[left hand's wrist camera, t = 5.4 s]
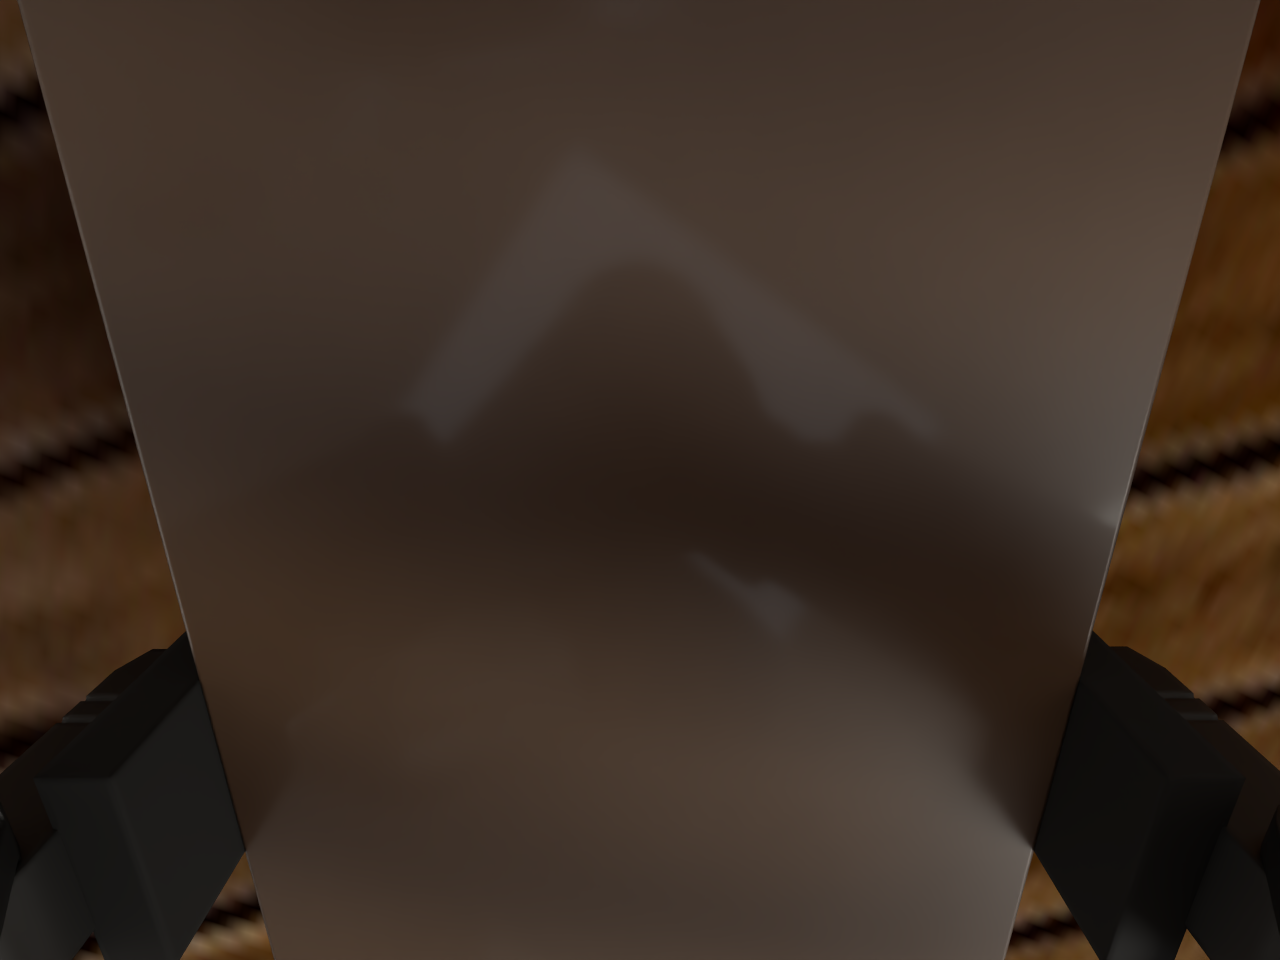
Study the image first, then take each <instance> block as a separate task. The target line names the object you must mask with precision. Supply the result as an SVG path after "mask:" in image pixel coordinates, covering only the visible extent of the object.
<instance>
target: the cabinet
mask: <svg viewBox="0 0 1280 960" xmlns="http://www.w3.org/2000/svg"><path fill="white" fill-rule="evenodd" d="M17 1H18V5H19V8H20V12H21V16H22V20H23V23H24V27H25V31H26V35H27V38H28V42H29V46H30V49H31V53H32V57H33V61H34V64H35V68H36V72H37V76H38V79H39V83H40V87H41V90H42V94H43V98H44V102H45V105H46V109H47V113H48V117H49V120H50V124H51V128H52V132H53V135H54V139H55V143H56V146H57V150H58V154H59V158H60V161H61V165H62V169H63V173H64V176H65V180H66V184H67V188H68V191H69V195H70V199H71V202H72V206H73V210H74V214H75V217H76V221H77V225H78V229H79V232H80V236H81V240H82V244H83V247H84V251H85V255H86V258H87V262H88V266H89V270H90V273H91V277H92V281H93V285H94V288H95V292H96V296H97V300H98V303H99V307H100V311H101V314H102V318H103V322H104V326H105V329H106V333H107V337H108V341H109V344H110V348H111V352H112V356H113V359H114V363H115V367H116V370H117V374H118V378H119V382H120V385H121V389H122V393H123V397H124V400H125V404H126V408H127V412H128V415H129V419H130V423H131V426H132V430H133V434H134V438H135V441H136V445H137V449H138V453H139V456H140V460H141V464H142V468H143V471H144V475H145V479H146V482H147V486H148V490H149V494H150V497H151V501H152V505H153V509H154V512H155V516H156V520H157V524H158V527H159V531H160V535H161V538H162V542H163V546H164V550H165V553H166V557H167V561H168V565H169V568H170V572H171V576H172V580H173V583H174V587H175V591H176V594H177V598H178V602H179V606H180V609H181V613H182V617H183V621H184V624H185V628H186V632H187V636H188V639H189V643H190V647H191V650H192V654H193V658H194V662H195V665H196V669H197V673H198V677H199V680H200V684H201V688H202V691H203V695H204V699H205V703H206V706H207V710H208V714H209V718H210V721H211V725H212V729H213V733H214V736H215V740H216V744H217V747H218V751H219V755H220V759H221V762H222V766H223V770H224V774H225V777H226V781H227V785H228V789H229V792H230V796H231V800H232V803H233V807H234V811H235V815H236V818H237V822H238V826H239V830H240V833H241V837H242V841H243V845H244V848H245V852H246V856H247V859H248V863H249V867H250V871H251V874H252V878H253V882H254V886H255V889H256V893H257V897H258V901H259V904H260V908H261V912H262V915H263V919H264V923H265V927H266V930H267V934H268V938H269V942H270V945H271V949H272V953H273V957H274V960H1005V956H1006V952H1007V949H1008V945H1009V941H1010V937H1011V934H1012V930H1013V926H1014V922H1015V919H1016V915H1017V911H1018V907H1019V904H1020V900H1021V896H1022V892H1023V889H1024V885H1025V881H1026V877H1027V874H1028V870H1029V866H1030V862H1031V859H1032V855H1033V851H1034V847H1035V844H1036V840H1037V836H1038V832H1039V829H1040V825H1041V821H1042V817H1043V814H1044V810H1045V806H1046V802H1047V799H1048V795H1049V791H1050V787H1051V784H1052V780H1053V776H1054V772H1055V769H1056V765H1057V761H1058V757H1059V754H1060V750H1061V746H1062V742H1063V739H1064V735H1065V731H1066V727H1067V724H1068V720H1069V716H1070V712H1071V709H1072V705H1073V701H1074V697H1075V694H1076V690H1077V686H1078V682H1079V679H1080V675H1081V671H1082V667H1083V664H1084V660H1085V656H1086V652H1087V649H1088V645H1089V641H1090V637H1091V634H1092V630H1093V626H1094V622H1095V619H1096V615H1097V611H1098V607H1099V604H1100V600H1101V596H1102V592H1103V589H1104V585H1105V581H1106V577H1107V574H1108V570H1109V566H1110V562H1111V559H1112V555H1113V551H1114V547H1115V544H1116V540H1117V536H1118V532H1119V529H1120V525H1121V521H1122V517H1123V514H1124V510H1125V506H1126V502H1127V499H1128V495H1129V491H1130V487H1131V484H1132V480H1133V476H1134V472H1135V469H1136V465H1137V461H1138V457H1139V454H1140V450H1141V446H1142V442H1143V439H1144V435H1145V431H1146V427H1147V424H1148V420H1149V416H1150V412H1151V409H1152V405H1153V401H1154V397H1155V394H1156V390H1157V386H1158V382H1159V379H1160V375H1161V371H1162V367H1163V364H1164V360H1165V356H1166V352H1167V349H1168V345H1169V341H1170V337H1171V334H1172V330H1173V326H1174V322H1175V319H1176V315H1177V311H1178V307H1179V304H1180V300H1181V296H1182V292H1183V289H1184V285H1185V281H1186V277H1187V274H1188V270H1189V266H1190V262H1191V259H1192V255H1193V251H1194V247H1195V244H1196V240H1197V236H1198V232H1199V229H1200V225H1201V221H1202V217H1203V214H1204V210H1205V206H1206V202H1207V199H1208V195H1209V191H1210V187H1211V184H1212V180H1213V176H1214V172H1215V169H1216V165H1217V161H1218V157H1219V154H1220V150H1221V146H1222V142H1223V139H1224V135H1225V131H1226V127H1227V124H1228V120H1229V116H1230V112H1231V109H1232V105H1233V101H1234V97H1235V94H1236V90H1237V86H1238V82H1239V79H1240V75H1241V71H1242V67H1243V64H1244V60H1245V56H1246V52H1247V49H1248V45H1249V41H1250V37H1251V34H1252V30H1253V26H1254V22H1255V19H1256V15H1257V11H1258V7H1259V4H1260V0H17Z"/></svg>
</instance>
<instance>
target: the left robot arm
mask: <svg viewBox="0 0 1280 960" xmlns="http://www.w3.org/2000/svg"><path fill="white" fill-rule="evenodd" d="M244 852H245V848H244V845H243V841H242V837H241V833H240V830H239V826H238V822H237V818H236V815H235V811H234V807H233V803H232V800H231V796H230V792H229V789H228V785H227V781H226V777H225V774H224V770H223V766H222V762H221V759H220V755H219V751H218V747H217V744H216V740H215V736H214V733H213V729H212V725H211V721H210V718H209V714H208V710H207V706H206V703H205V699H204V695H203V691H202V688H201V684H200V680H199V677H198V673H197V669H196V665H195V662H194V658H193V654H192V650H191V647H190V643H189V639H188V636H187V632H185V633H184V634H182V635H181V636H180V637H179V638H178V639H177V640H176V641H175V642H174V643H173V644H172V645H171V646H170V647H169V648H168V649H152V650H150V651H148V652H147V653H145V654H143V655H141V656H140V657H138V658H136V659H134V660H133V661H131V662H129V663H127V664H126V665H124V666H122V667H120V668H119V669H117V670H115V671H114V672H113V673H112V674H110V675H109V676H108V677H107V678H106V679H105V680H104V681H103V682H102V683H100V684H99V685H98V686H97V687H96V688H95V689H94V690H93V691H92V692H91V693H89V694H88V695H87V696H86V701H81V702H79V703H78V704H77V705H76V706H75V707H74V708H73V709H72V710H71V711H70V712H68V713H67V714H66V715H65V716H64V717H63V721H62V723H56V724H55V725H54V726H53V727H52V728H51V729H50V730H49V731H47V732H46V733H45V734H44V735H43V736H42V737H41V738H40V739H39V740H37V741H36V742H35V743H34V744H33V745H32V746H31V747H30V748H29V749H28V750H26V751H25V752H24V753H23V754H22V755H21V756H20V757H19V758H18V759H16V760H15V761H14V762H13V763H12V764H11V765H10V766H9V767H8V768H7V769H5V770H4V771H3V772H2V773H1V774H0V960H72V959H73V958H74V956H75V955H76V954H77V952H78V951H79V950H80V948H81V947H82V946H83V944H84V943H85V942H86V940H87V939H88V937H89V936H90V935H91V933H92V932H94V934H95V937H96V939H97V942H98V944H99V947H100V950H101V952H102V955H103V957H104V960H180V958H181V957H182V955H183V953H184V952H185V950H186V948H187V947H188V945H189V943H190V942H191V940H192V938H193V937H194V935H195V933H196V932H197V930H198V928H199V927H200V925H201V923H202V922H203V920H204V919H205V917H206V915H207V914H208V912H209V910H210V909H211V907H212V905H213V904H214V902H215V900H216V899H217V897H218V895H219V894H220V892H221V890H222V889H223V887H224V885H225V884H226V882H227V880H228V879H229V877H230V875H231V874H232V872H233V870H234V869H235V867H236V865H237V864H238V862H239V860H240V859H241V857H242V855H243V854H244ZM1034 852H1035V853H1036V855H1037V857H1038V858H1039V860H1040V862H1041V863H1042V865H1043V867H1044V868H1045V870H1046V872H1047V873H1048V875H1049V877H1050V878H1051V880H1052V882H1053V883H1054V885H1055V887H1056V888H1057V890H1058V892H1059V893H1060V895H1061V897H1062V898H1063V900H1064V902H1065V903H1066V905H1067V906H1068V908H1069V910H1070V911H1071V913H1072V915H1073V916H1074V918H1075V920H1076V921H1077V923H1078V925H1079V926H1080V928H1081V930H1082V931H1083V933H1084V935H1085V936H1086V938H1087V940H1088V941H1089V943H1090V945H1091V946H1092V948H1093V950H1094V951H1095V953H1096V955H1097V956H1098V958H1099V960H1175V957H1176V955H1177V952H1178V949H1179V947H1180V944H1181V942H1182V939H1183V937H1184V934H1185V932H1186V929H1188V930H1189V932H1190V933H1191V935H1192V936H1193V937H1194V939H1195V940H1196V941H1197V943H1198V944H1199V945H1200V947H1201V948H1202V949H1203V951H1204V952H1205V953H1206V955H1207V956H1208V957H1209V959H1210V960H1280V771H1279V770H1278V769H1277V768H1276V767H1275V766H1274V765H1272V764H1271V763H1270V762H1269V761H1268V760H1267V759H1266V758H1265V757H1264V756H1262V755H1261V754H1260V753H1259V752H1258V751H1257V750H1256V749H1255V748H1254V747H1252V746H1251V745H1250V744H1249V743H1248V742H1247V741H1246V740H1245V739H1244V738H1242V737H1241V736H1240V735H1239V734H1238V733H1237V732H1236V731H1235V730H1234V729H1232V728H1231V727H1230V726H1229V725H1228V724H1227V723H1226V722H1225V721H1224V720H1218V719H1217V714H1216V713H1215V712H1214V711H1212V710H1211V709H1210V708H1209V707H1208V706H1207V705H1206V704H1205V703H1204V702H1202V701H1201V700H1200V699H1195V698H1194V696H1193V693H1192V692H1191V691H1190V690H1189V689H1188V688H1187V687H1186V686H1185V685H1183V684H1182V683H1181V682H1180V681H1179V680H1178V679H1177V678H1176V677H1175V676H1173V675H1172V674H1171V673H1170V672H1169V671H1168V670H1167V669H1166V668H1164V667H1162V666H1161V665H1159V664H1157V663H1155V662H1154V661H1152V660H1150V659H1148V658H1146V657H1145V656H1143V655H1141V654H1139V653H1138V652H1136V651H1134V650H1132V649H1131V648H1129V647H1109V646H1108V645H1107V644H1106V643H1105V642H1104V641H1103V640H1102V639H1101V638H1100V637H1099V636H1098V635H1097V634H1096V633H1095V632H1094V631H1093V630H1092V634H1091V637H1090V641H1089V645H1088V649H1087V652H1086V656H1085V660H1084V664H1083V667H1082V671H1081V675H1080V679H1079V682H1078V686H1077V690H1076V694H1075V697H1074V701H1073V705H1072V709H1071V712H1070V716H1069V720H1068V724H1067V727H1066V731H1065V735H1064V739H1063V742H1062V746H1061V750H1060V754H1059V757H1058V761H1057V765H1056V769H1055V772H1054V776H1053V780H1052V784H1051V787H1050V791H1049V795H1048V799H1047V802H1046V806H1045V810H1044V814H1043V817H1042V821H1041V825H1040V829H1039V832H1038V836H1037V840H1036V844H1035V847H1034Z"/></svg>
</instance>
